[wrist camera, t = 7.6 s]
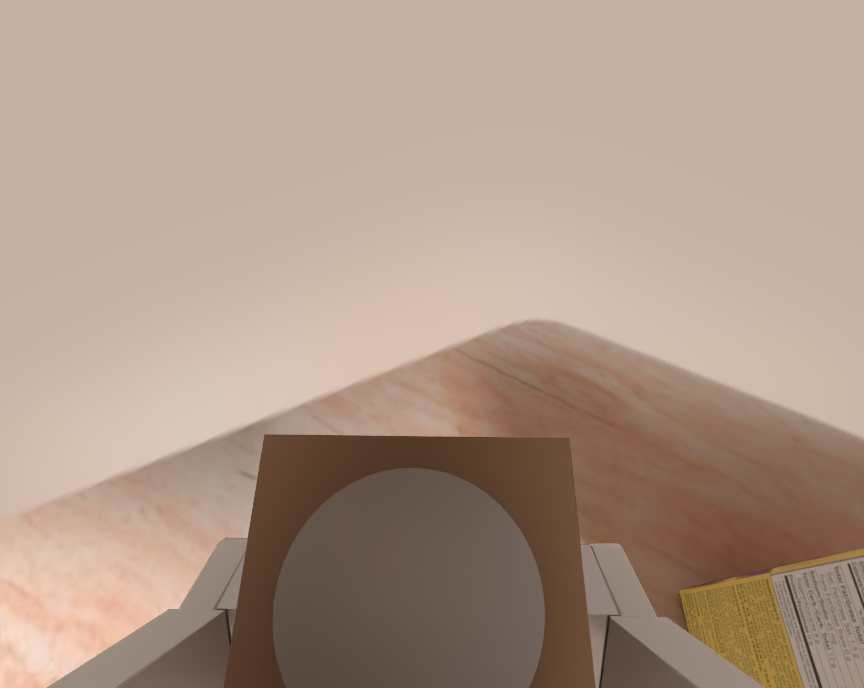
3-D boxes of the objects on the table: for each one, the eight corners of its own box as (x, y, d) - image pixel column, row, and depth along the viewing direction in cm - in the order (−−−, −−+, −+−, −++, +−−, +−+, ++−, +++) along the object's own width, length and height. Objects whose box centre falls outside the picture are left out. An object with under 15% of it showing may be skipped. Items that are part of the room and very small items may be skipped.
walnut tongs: (488, 552, 15) (584, 417, 6) (493, 699, 14) (638, 868, 4) (364, 550, 15) (247, 413, 6) (354, 697, 14) (164, 860, 4)
